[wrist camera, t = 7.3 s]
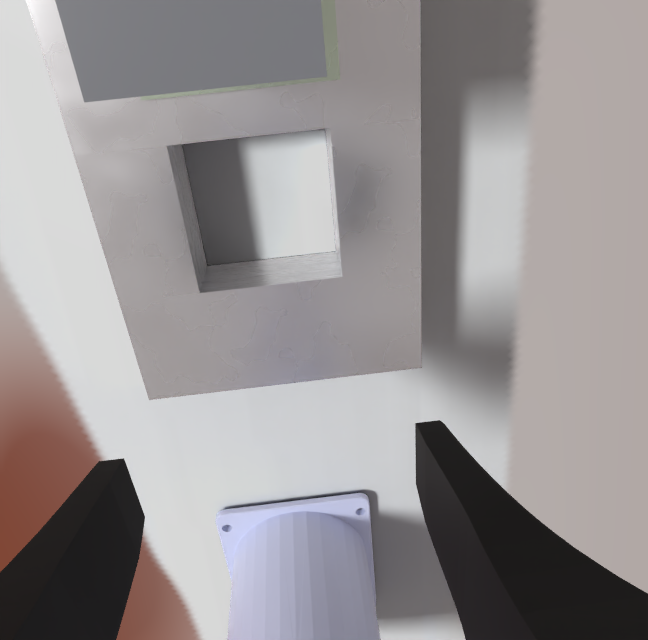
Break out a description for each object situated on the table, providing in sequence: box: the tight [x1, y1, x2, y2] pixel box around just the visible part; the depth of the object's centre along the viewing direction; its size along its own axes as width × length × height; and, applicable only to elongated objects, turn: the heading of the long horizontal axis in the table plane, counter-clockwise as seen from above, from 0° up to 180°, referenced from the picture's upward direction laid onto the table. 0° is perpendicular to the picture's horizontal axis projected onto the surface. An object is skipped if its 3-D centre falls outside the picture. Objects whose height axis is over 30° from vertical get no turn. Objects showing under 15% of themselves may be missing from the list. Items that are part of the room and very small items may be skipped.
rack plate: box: [26, 0, 422, 400], centre depth 18 cm, size 20×11×3 cm, turn 5°
